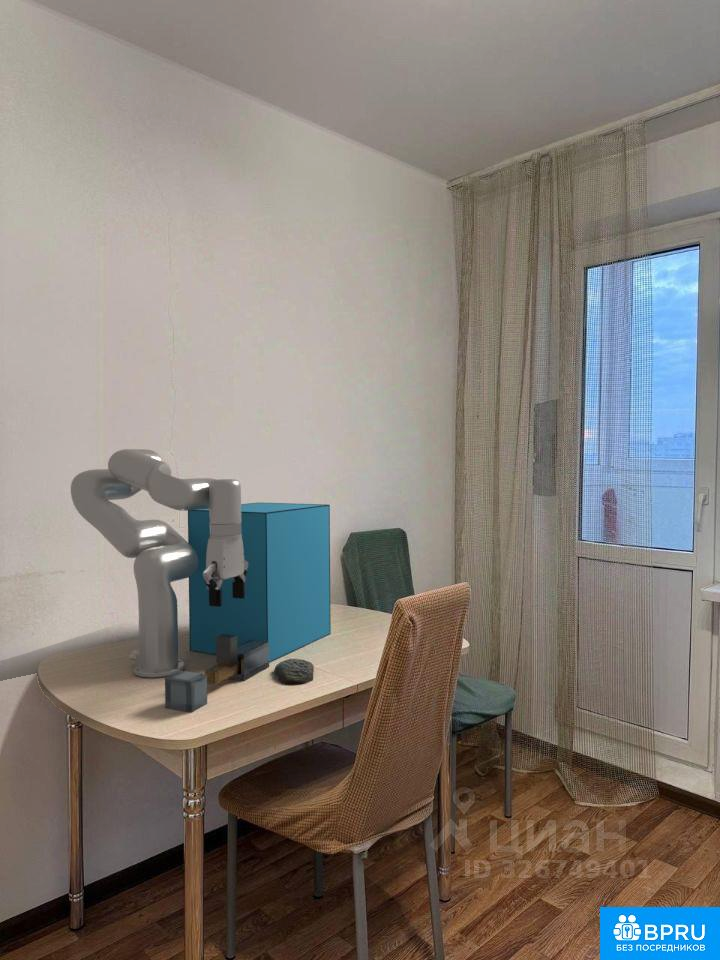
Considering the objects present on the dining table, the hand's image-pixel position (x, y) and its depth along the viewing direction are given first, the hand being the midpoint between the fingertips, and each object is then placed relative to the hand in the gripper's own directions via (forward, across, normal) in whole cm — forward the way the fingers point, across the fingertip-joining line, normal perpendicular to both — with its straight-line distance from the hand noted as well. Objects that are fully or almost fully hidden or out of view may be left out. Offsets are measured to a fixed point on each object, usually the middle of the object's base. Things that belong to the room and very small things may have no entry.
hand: (227, 602), depth 161 cm
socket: (+20, +16, -1) cm, 25 cm away
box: (+20, -35, -12) cm, 42 cm away
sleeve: (+20, -9, -1) cm, 22 cm away
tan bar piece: (+18, -4, -1) cm, 18 cm away
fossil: (+20, -11, +11) cm, 26 cm away
